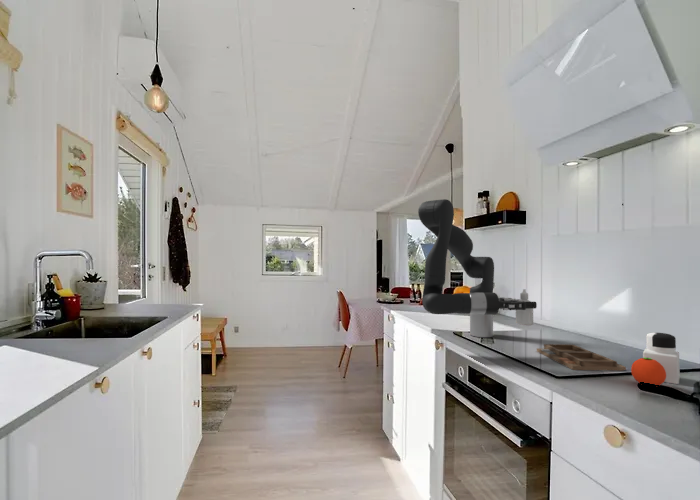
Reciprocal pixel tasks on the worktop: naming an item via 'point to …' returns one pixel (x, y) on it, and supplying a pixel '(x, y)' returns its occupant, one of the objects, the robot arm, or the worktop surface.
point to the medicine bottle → (664, 354)
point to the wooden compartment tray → (578, 358)
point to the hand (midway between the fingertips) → (531, 303)
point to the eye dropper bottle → (524, 312)
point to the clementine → (648, 371)
